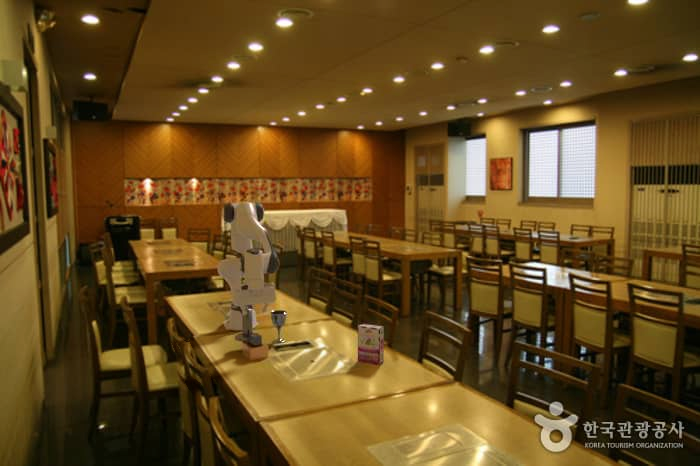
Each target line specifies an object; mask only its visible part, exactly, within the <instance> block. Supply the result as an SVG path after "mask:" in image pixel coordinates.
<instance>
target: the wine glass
mask: <svg viewBox="0 0 700 466" xmlns="http://www.w3.org/2000/svg"><path fill="white" fill-rule="evenodd" d="M287 313H288V312H287V310H284V309H283V310H280V309H279V310H278V309H275V310H272V311H270V321H271V323H272V325H273V326H274V327H275V328H276V330H277V338H275V339H273V340H271V342H272V343H274V344H282V343H285V342H286V341H287V340H286V339H284V338H281V336H280V335H281V329H282V328H283V326H284V325H285V324H286V321H287V315H288V314H287Z"/></svg>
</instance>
